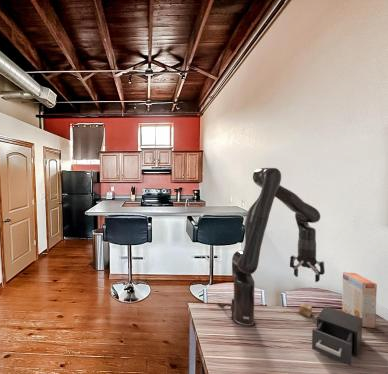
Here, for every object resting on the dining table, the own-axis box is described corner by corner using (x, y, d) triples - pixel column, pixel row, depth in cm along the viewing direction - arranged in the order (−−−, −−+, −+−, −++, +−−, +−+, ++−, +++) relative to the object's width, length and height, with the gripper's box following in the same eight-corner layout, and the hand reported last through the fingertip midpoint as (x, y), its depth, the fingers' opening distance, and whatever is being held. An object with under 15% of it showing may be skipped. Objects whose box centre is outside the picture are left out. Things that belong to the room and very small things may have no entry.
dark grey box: (356, 356, 89) (357, 332, 89) (316, 339, 99) (316, 317, 99) (361, 340, 99) (362, 318, 98) (324, 326, 108) (324, 306, 108)
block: (299, 313, 119) (299, 305, 119) (302, 310, 121) (302, 302, 121) (309, 317, 116) (309, 309, 115) (311, 314, 118) (311, 306, 118)
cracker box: (376, 329, 106) (377, 283, 106) (361, 327, 108) (362, 282, 107) (354, 312, 120) (355, 272, 120) (341, 311, 121) (342, 271, 121)
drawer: (348, 373, 80) (348, 351, 80) (308, 354, 89) (308, 334, 89) (356, 349, 92) (356, 329, 92) (320, 334, 101) (320, 317, 101)
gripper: (326, 249, 115) (325, 281, 115) (293, 243, 126) (292, 273, 126) (322, 251, 110) (322, 285, 110) (288, 245, 121) (287, 276, 121)
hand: (306, 278), depth 118 cm, fingers open, 8 cm apart
